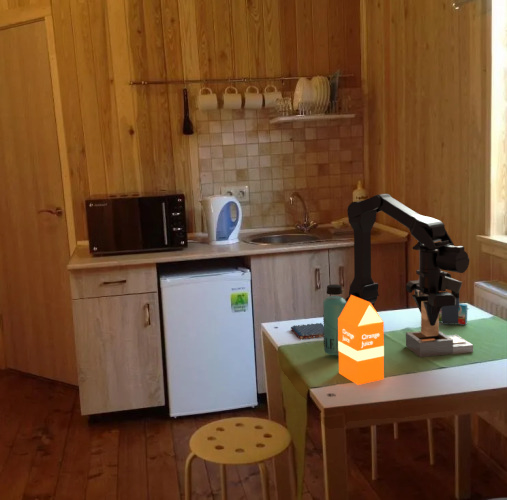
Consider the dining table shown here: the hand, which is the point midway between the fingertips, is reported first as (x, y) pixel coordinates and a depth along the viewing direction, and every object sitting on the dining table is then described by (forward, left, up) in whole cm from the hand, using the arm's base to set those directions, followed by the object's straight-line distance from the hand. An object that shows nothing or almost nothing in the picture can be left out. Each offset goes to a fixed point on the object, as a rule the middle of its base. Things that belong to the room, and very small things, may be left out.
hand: (429, 323), depth 172 cm
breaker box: (+3, 0, -8) cm, 8 cm away
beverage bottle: (-26, +2, -8) cm, 27 cm away
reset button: (0, 0, -7) cm, 7 cm away
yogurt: (+17, +23, -8) cm, 29 cm away
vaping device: (+17, +21, -8) cm, 28 cm away
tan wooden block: (0, 0, -3) cm, 3 cm away
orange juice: (-24, -13, -8) cm, 28 cm away
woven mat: (-27, +24, -8) cm, 37 cm away
